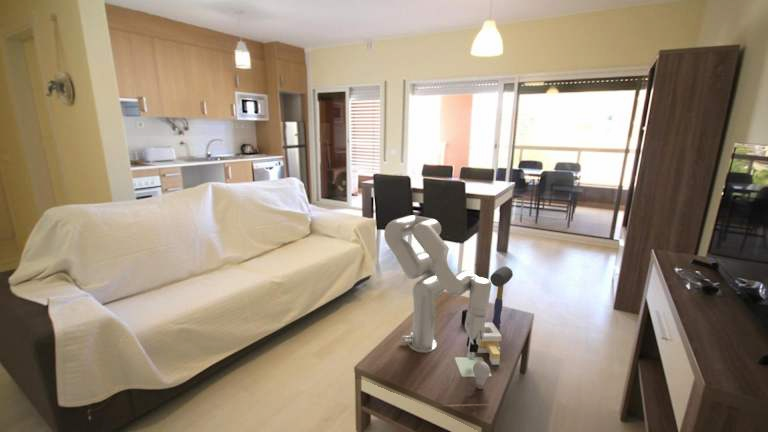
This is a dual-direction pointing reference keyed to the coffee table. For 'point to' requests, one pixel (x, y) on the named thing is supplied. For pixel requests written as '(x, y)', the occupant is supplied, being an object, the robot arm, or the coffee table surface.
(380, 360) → the coffee table surface
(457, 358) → the pin mat
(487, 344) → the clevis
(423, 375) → the coffee table surface
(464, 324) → the digital camera
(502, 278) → the rubber mallet
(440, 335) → the coffee table surface
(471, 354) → the steel pin
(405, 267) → the robot arm
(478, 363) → the lightbulb
